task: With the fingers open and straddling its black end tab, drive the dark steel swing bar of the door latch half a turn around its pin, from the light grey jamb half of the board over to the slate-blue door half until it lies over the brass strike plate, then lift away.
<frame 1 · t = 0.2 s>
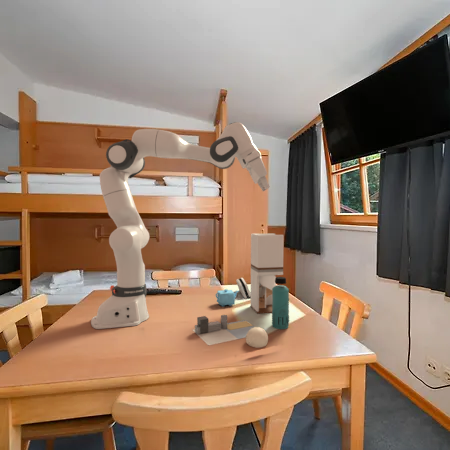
hand: (266, 189, 118), 54 cm above the table, tool tilted 30°, fingers open, 8 cm apart
teapot: (227, 305, 141), on the table
latch bar: (207, 323, 104), point 4 cm above the table, hinge at 0.0°
door board: (228, 335, 104), on the table
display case: (266, 312, 130), on the table
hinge: (243, 294, 161), on the table
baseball: (256, 348, 94), on the table
beverage bottle: (280, 330, 110), on the table
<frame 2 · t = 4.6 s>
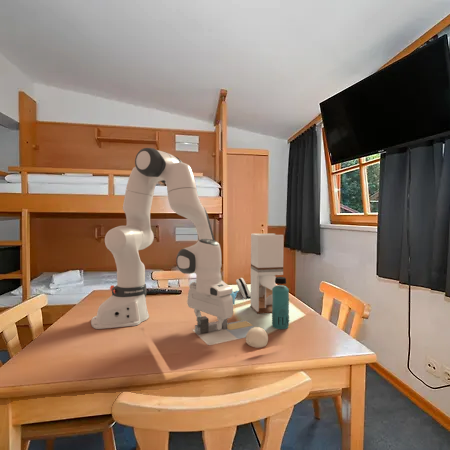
hand: (208, 325, 102), 5 cm above the table, tool pointing down, fingers open, 8 cm apart
latch bar: (208, 324, 104), point 4 cm above the table, hinge at 0.6°, touching gripper
everything else where it was.
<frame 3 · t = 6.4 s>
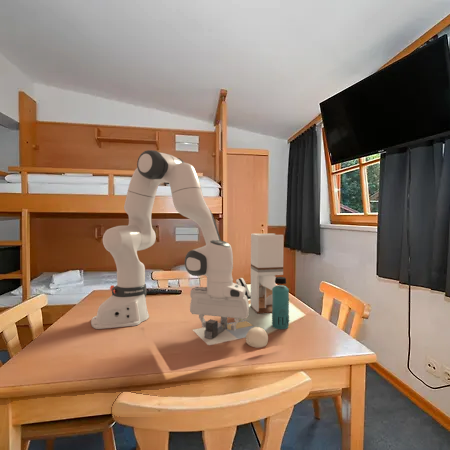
hand: (219, 328, 99), 4 cm above the table, tool pointing down, fingers open, 8 cm apart
latch bar: (214, 326, 102), point 4 cm above the table, hinge at 32.8°, touching gripper
everything else where it was.
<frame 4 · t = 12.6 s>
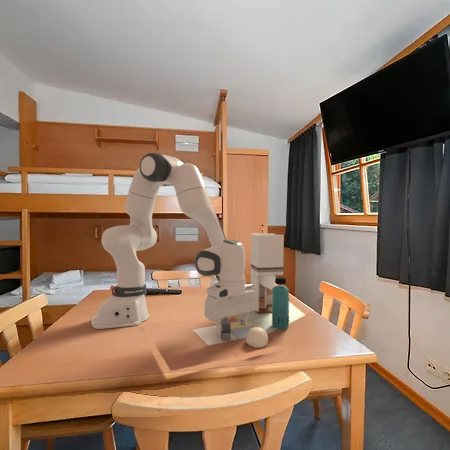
hand: (232, 327, 100), 5 cm above the table, tool pointing down, fingers open, 8 cm apart
latch bar: (225, 327, 101), point 4 cm above the table, hinge at 66.6°, touching gripper
everything else where it was.
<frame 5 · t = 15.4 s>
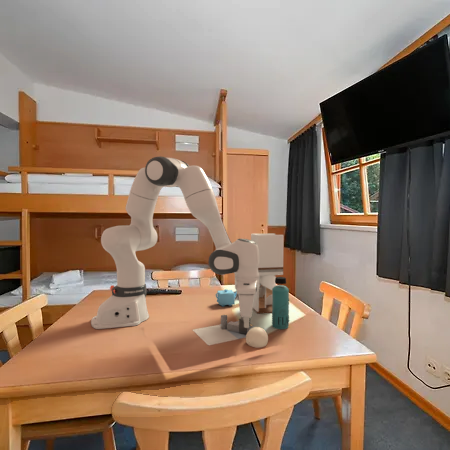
hand: (247, 321, 105), 5 cm above the table, tool pointing down, fingers open, 8 cm apart
latch bar: (239, 324, 104), point 4 cm above the table, hinge at 122.1°, touching gripper
everything else where it was.
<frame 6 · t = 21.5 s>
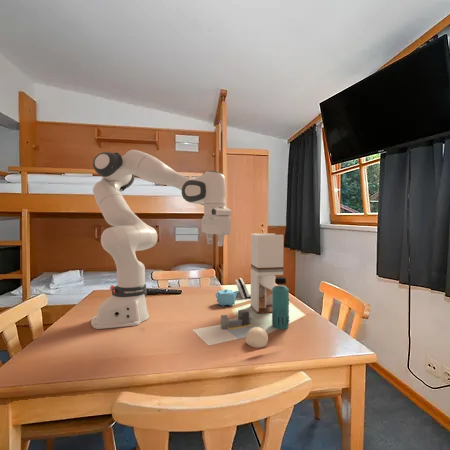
hand: (214, 245, 118), 31 cm above the table, tool pointing down, fingers open, 8 cm apart
latch bar: (239, 318, 110), point 4 cm above the table, hinge at 181.4°
at the end: latch bar at +181° (first picture: +0°) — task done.
